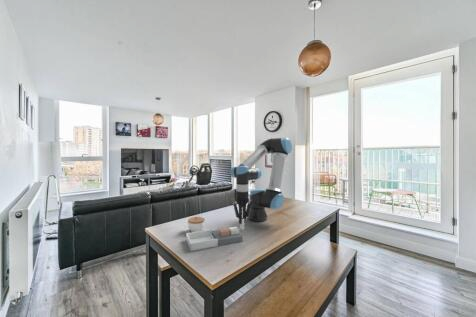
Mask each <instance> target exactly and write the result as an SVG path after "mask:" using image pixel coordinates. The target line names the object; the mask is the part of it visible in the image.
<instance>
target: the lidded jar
mask: <svg viewBox="0 0 476 317" xmlns="http://www.w3.org/2000/svg"><path fill="white" fill-rule="evenodd" d="M187 224H188V228H189V230H190V231H191V232H198V231H203V228H204V226H205V217H202V216H193V217H190V218H188V219H187Z"/></svg>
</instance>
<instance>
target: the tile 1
mask: <svg viewBox="0 0 476 317" xmlns="http://www.w3.org/2000/svg"><path fill="white" fill-rule="evenodd" d="M218 230H219V234H220V235H221V236H226V235H230V231H229V230H228V228H227V227H224V228H218Z"/></svg>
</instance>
